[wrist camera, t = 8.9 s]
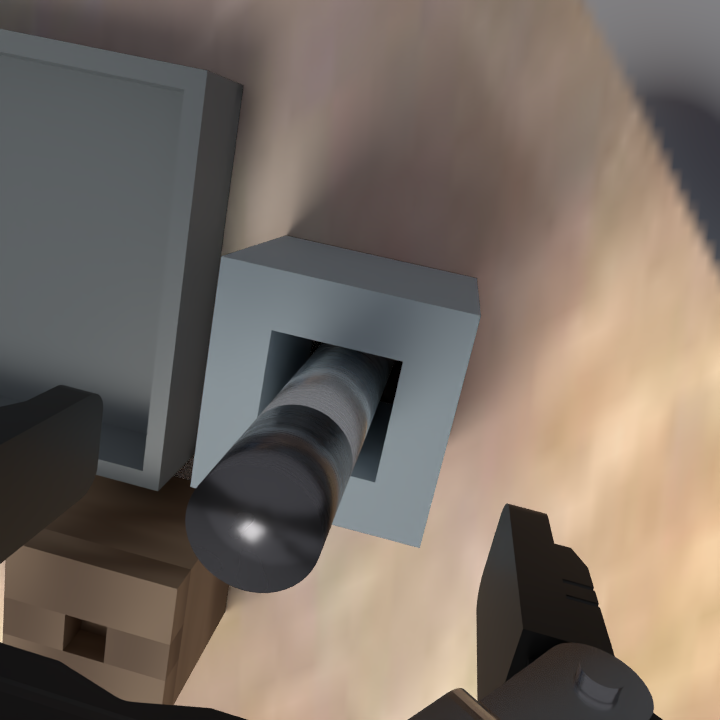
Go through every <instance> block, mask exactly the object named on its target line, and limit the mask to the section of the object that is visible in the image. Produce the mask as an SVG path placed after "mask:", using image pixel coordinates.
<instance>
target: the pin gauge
mask: <svg viewBox="0 0 720 720" xmlns="http://www.w3.org/2000/svg"><path fill="white" fill-rule="evenodd" d="M394 363H395V360H394V359H390V358H386V357H382V356H378V355H373V354H369V353H365V352H361V351H357V350H353V349H348V348H344V347H340V346H336V345H332V344H327V343H322V344H321V345H320V346H319V347H318V348H317V350H316V351H315V352H314V353H313V354H312V355H311V356H310V358H309V359H308V360H307V361H306V362H305V363H304V364H303V366H302V367H301V368H300V369H299V370H298V371H297V373H296V374H295V375H294V376H293V377H292V378H291V379H290V381H289V382H288V383H287V384H286V385H285V386H284V387H283V389H282V390H281V391H280V392H279V393H278V394H277V395H276V397H275V398H274V399H273V400H272V401H271V402H270V404H269V405H268V406H267V407H266V408H265V409H264V410H263V412H262V413H261V414H260V415H259V416H258V417H257V418H256V420H255V421H254V422H253V423H252V424H251V425H250V427H249V428H248V429H247V430H246V431H245V432H244V433H243V435H242V436H241V437H240V438H239V439H238V440H237V441H236V443H235V444H234V445H233V446H232V447H231V448H230V449H229V451H228V452H227V453H226V454H225V455H224V456H223V458H222V459H221V460H220V461H219V462H218V463H217V464H216V466H215V467H214V468H213V469H212V470H211V471H210V472H209V474H208V475H207V476H206V477H205V478H204V479H203V480H202V482H201V483H200V484H199V485H198V486H197V488H196V489H195V490H194V492H193V494H192V495H191V497H190V500H189V502H188V505H187V510H186V517H185V524H186V532H187V537H188V540H189V543H190V545H191V547H192V549H193V551H194V553H195V555H196V556H197V558H198V559H199V561H200V562H201V563H202V564H203V566H204V567H205V568H206V569H207V570H208V571H209V572H210V573H212V574H213V575H214V576H215V577H217V578H218V579H220V580H221V581H223V582H225V583H226V584H228V585H231V586H233V587H235V588H238V589H241V590H244V591H249V592H256V593H271V592H278V591H281V590H285V589H288V588H290V587H292V586H294V585H296V584H297V583H299V582H301V581H302V580H303V579H304V578H305V577H306V576H307V575H308V574H309V573H310V572H311V571H312V569H313V568H314V566H315V565H316V563H317V561H318V559H319V556H320V554H321V551H322V548H323V546H324V543H325V541H326V538H327V536H328V533H329V530H330V528H331V525H332V523H333V520H334V517H335V515H336V512H337V510H338V507H339V505H340V502H341V499H342V497H343V494H344V492H345V489H346V487H347V484H348V481H349V479H350V476H351V474H352V471H353V468H354V466H355V463H356V461H357V458H358V456H359V453H360V450H361V448H362V445H363V443H364V440H365V438H366V435H367V432H368V430H369V427H370V425H371V422H372V419H373V417H374V414H375V412H376V409H377V407H378V404H379V401H380V399H381V396H382V394H383V391H384V389H385V386H386V383H387V381H388V378H389V376H390V373H391V370H392V368H393V365H394Z"/></svg>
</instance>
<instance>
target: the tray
mask: <svg viewBox="0 0 720 720" xmlns="http://www.w3.org/2000/svg"><path fill="white" fill-rule="evenodd" d="M242 92H243V85H241V84H239V83H236V82H234V81H232V80H229V79H227V78H224V77H222V76H219V75H217V74H215V73H212V72H210V71H207V70H202V69H197V68H193V67H188V66H183V65H178V64H173V63H168V62H163V61H158V60H153V59H148V58H143V57H138V56H133V55H128V54H123V53H118V52H113V51H108V50H103V49H98V48H93V47H88V46H83V45H79V44H74V43H69V42H64V41H59V40H54V39H49V38H44V37H39V36H34V35H29V34H24V33H19V32H14V31H9V30H4V29H0V407H1V406H6V405H10V404H15V403H20V402H24V401H27V400H29V399H31V398H33V397H35V396H37V395H39V394H41V393H44V392H46V391H48V390H50V389H52V388H54V387H56V386H58V385H66V386H69V387H73V388H77V389H81V390H84V391H88V392H92V393H96V394H98V395H100V396H101V398H102V401H103V416H102V426H101V437H100V447H99V458H98V467H97V472H96V475H99V476H103V477H106V478H110V479H114V480H117V481H121V482H125V483H129V484H132V485H136V486H140V487H144V488H147V489H151V490H155V491H159V490H160V489H161V488H162V487H163V486H164V485H165V484H166V483H167V482H168V481H169V480H170V479H171V477H172V476H173V475H174V474H175V473H176V472H177V471H178V470H179V469H180V468H181V467H182V466H183V465H184V464H185V463H186V462H187V461H188V460H189V459H190V458H191V457H192V456H193V455H194V450H195V443H196V435H197V428H198V420H199V413H200V405H201V398H202V390H203V383H204V376H205V368H206V361H207V353H208V346H209V338H210V331H211V323H212V316H213V308H214V301H215V293H216V286H217V279H218V271H219V264H220V256H221V249H222V241H223V234H224V226H225V219H226V211H227V204H228V197H229V189H230V182H231V174H232V167H233V159H234V152H235V144H236V137H237V129H238V122H239V114H240V107H241V100H242Z"/></svg>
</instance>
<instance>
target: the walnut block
mask: <svg viewBox="0 0 720 720" xmlns="http://www.w3.org/2000/svg"><path fill="white" fill-rule="evenodd" d="M190 485H191V481H190V480H186V479H182V478H179V477H175V476H172V477H171V479H170V480H169V481H168V482H167V483H166V484H165V485H164V486H163V487H162V488H161V489H160V490H159V491H155V490H151V489H147V488H144V487H140V486H136V485H132V484H129V483H125V482H121V481H117V480H114V479H110V478H106V477H103V476H99V475H96V476H95V479H94V481H93V483H92V485H91V487H90V489H89V490H88V492H87V493H86V494H85V496H84V497H83V498H81V499H80V500H79V501H78V502H76V503H75V504H74V505H73V506H71V507H70V508H69V509H68V510H67V511H65V512H64V513H63V514H62V515H60V516H59V517H58V518H57V519H55V520H54V521H53V522H52V523H50V524H49V525H48V526H47V527H45V528H44V529H43V530H42V531H40V532H39V533H38V534H37V535H35V536H34V537H33V538H32V539H30V540H29V541H28V542H27V543H26V544H24V545H23V546H22V547H21V548H19V549H18V550H17V551H16V552H14V553H13V554H12V555H11V556H9V557H8V558H7V559H6V565H5V592H4V620H3V643H4V644H7V645H10V646H13V647H17V648H20V649H23V650H26V651H29V652H33V653H36V654H39V655H42V656H45V657H49V658H52V659H55V660H58V661H60V662H62V663H64V664H65V665H67V666H68V667H70V668H71V669H73V670H75V671H76V672H78V673H79V674H81V675H83V676H84V677H86V678H87V679H89V680H90V681H92V682H94V683H95V684H97V685H98V686H100V687H102V688H103V689H105V690H106V691H108V692H110V693H111V694H113V695H114V696H116V697H118V698H120V699H122V700H125V701H131V702H141V703H153V704H165V705H174V703H175V701H176V699H177V698H178V696H179V694H180V692H181V690H182V689H183V687H184V685H185V683H186V681H187V680H188V678H189V676H190V674H191V672H192V671H193V669H194V667H195V665H196V663H197V662H198V660H199V658H200V656H201V654H202V653H203V651H204V649H205V647H206V645H207V644H208V642H209V640H210V638H211V636H212V635H213V633H214V631H215V629H216V627H217V626H218V624H219V622H220V620H221V618H222V617H223V615H224V613H225V608H226V602H227V596H228V590H229V585H228V584H226V583H225V582H223V581H221V580H220V579H218V578H217V577H215V576H214V575H213V574H212V573H210V572H209V571H208V570H207V569H206V568H205V567H204V566H203V564H202V563H201V562H200V561H199V559H198V558H197V556H196V555H195V553H194V551H193V549H192V547H191V545H190V543H189V540H188V537H187V532H186V524H185V517H186V510H187V505H188V502H189V500H190V497H191V495H192V494H193V492H194V490H195V489H196V488H193V487H190Z"/></svg>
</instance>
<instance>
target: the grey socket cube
mask: <svg viewBox="0 0 720 720" xmlns="http://www.w3.org/2000/svg"><path fill="white" fill-rule="evenodd" d="M480 317H481V313H480V303H479V294H478V284H477V278H473V277H469V276H465V275H460V274H456V273H451V272H447V271H442V270H438V269H433V268H429V267H424V266H420V265H415V264H411V263H407V262H402V261H398V260H393V259H389V258H384V257H380V256H375V255H371V254H366V253H362V252H358V251H353V250H349V249H344V248H340V247H335V246H331V245H326V244H322V243H317V242H313V241H309V240H304V239H300V238H295V237H291V236H283V237H280V238H276V239H273V240H270V241H267V242H264V243H261V244H258V245H255V246H252V247H248V248H245V249H242V250H239V251H236V252H233V253H230V254H227V255H224V256H221V262H220V270H219V277H218V285H217V292H216V299H215V307H214V314H213V322H212V329H211V337H210V344H209V352H208V359H207V366H206V374H205V381H204V389H203V396H202V404H201V411H200V418H199V426H198V433H197V441H196V448H195V456H194V463H193V471H192V478H191V485H190V487H193V488H197V486H198V485H199V484H200V483H201V482H202V480H203V479H204V478H205V477H206V476H207V475H208V474H209V472H210V471H211V470H212V469H213V468H214V467H215V466H216V464H217V463H218V462H219V461H220V460H221V459H222V458H223V456H224V455H225V454H226V453H227V452H228V451H229V449H230V448H231V447H232V446H233V445H234V444H235V443H236V441H237V440H238V439H239V438H240V437H241V436H242V435H243V433H244V432H245V431H246V430H247V429H248V428H249V427H250V425H251V424H252V423H253V422H254V421H255V420H256V418H257V417H258V416H259V415H260V414H261V413H262V412H263V410H264V409H265V408H266V407H267V406H268V405H269V404H270V402H271V401H272V400H273V399H274V398H275V397H276V395H277V394H278V393H279V392H280V391H281V390H282V389H283V387H284V386H285V385H286V384H287V383H288V382H289V381H290V379H291V378H292V377H293V376H294V375H295V374H296V373H297V371H298V370H299V369H300V368H301V367H302V366H303V364H304V363H305V362H306V361H307V360H308V359H309V358H310V354H311V348H312V343H313V340H315V341H319V342H323V343H327V344H332V345H336V346H340V347H344V348H348V349H353V350H357V351H361V352H365V353H369V354H373V355H378V356H382V357H386V358H390V359H394V360H399V361H403V364H402V369H401V373H400V377H399V382H398V386H397V390H396V395H395V399H394V403H393V404H390V403H386V402H382V401H379V404H378V407H377V409H376V412H375V414H374V417H373V419H372V422H371V425H370V427H369V430H368V432H367V435H366V438H365V440H364V443H363V445H362V448H361V450H360V453H359V456H358V458H357V461H356V463H355V466H354V468H353V471H352V474H351V476H350V479H349V481H348V484H347V487H346V489H345V492H344V494H343V497H342V499H341V502H340V505H339V507H338V510H337V512H336V515H335V517H334V520H333V523H332V525H335V526H339V527H343V528H347V529H350V530H354V531H358V532H362V533H365V534H369V535H373V536H377V537H380V538H384V539H388V540H392V541H395V542H399V543H403V544H407V545H410V546H414V547H418V548H420V545H421V541H422V537H423V533H424V529H425V526H426V522H427V518H428V514H429V510H430V507H431V503H432V499H433V495H434V491H435V488H436V484H437V480H438V476H439V473H440V469H441V465H442V461H443V457H444V454H445V450H446V446H447V442H448V438H449V435H450V431H451V427H452V423H453V419H454V416H455V412H456V408H457V404H458V400H459V397H460V393H461V389H462V385H463V382H464V378H465V374H466V370H467V366H468V363H469V359H470V355H471V351H472V347H473V344H474V340H475V336H476V332H477V328H478V325H479V321H480Z"/></svg>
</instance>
